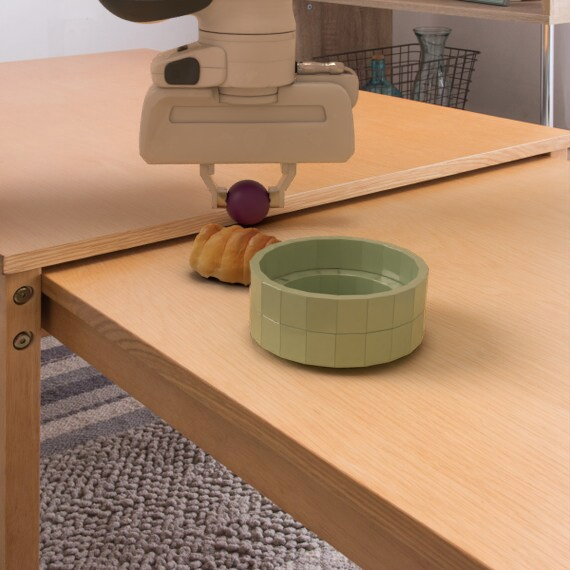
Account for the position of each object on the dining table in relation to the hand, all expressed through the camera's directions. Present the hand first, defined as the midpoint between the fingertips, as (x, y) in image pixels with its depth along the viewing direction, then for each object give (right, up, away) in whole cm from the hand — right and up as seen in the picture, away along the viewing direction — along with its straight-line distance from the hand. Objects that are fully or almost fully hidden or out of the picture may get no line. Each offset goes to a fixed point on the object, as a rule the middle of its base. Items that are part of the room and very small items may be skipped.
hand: (247, 207), depth 90 cm
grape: (0, 0, 0) cm, 0 cm away
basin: (+7, -11, -23) cm, 27 cm away
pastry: (0, -7, -11) cm, 13 cm away
